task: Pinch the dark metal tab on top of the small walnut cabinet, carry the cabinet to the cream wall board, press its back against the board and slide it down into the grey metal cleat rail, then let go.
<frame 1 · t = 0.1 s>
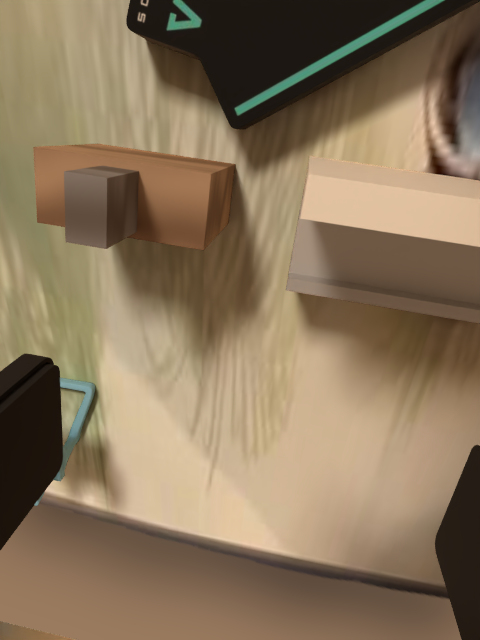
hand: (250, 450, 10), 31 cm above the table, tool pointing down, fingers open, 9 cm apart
walnut cabinet: (164, 184, 39), on the table
chair: (64, 408, 51), on the table
wall board: (430, 186, 36), on the table
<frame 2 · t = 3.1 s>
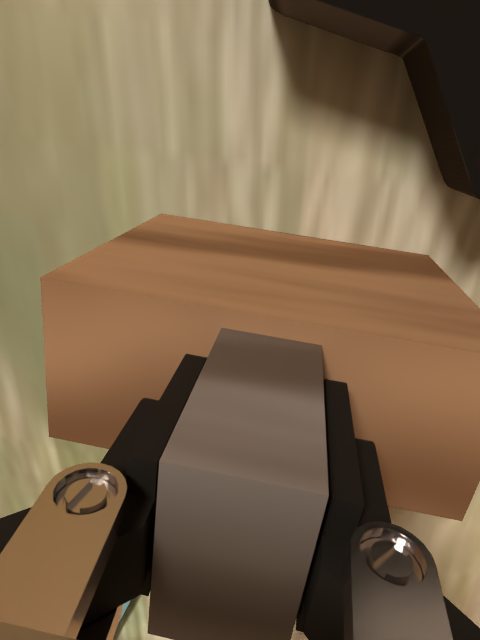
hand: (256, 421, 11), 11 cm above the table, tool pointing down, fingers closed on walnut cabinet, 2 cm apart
walnut cabinet: (282, 286, 21), on the table, touching gripper
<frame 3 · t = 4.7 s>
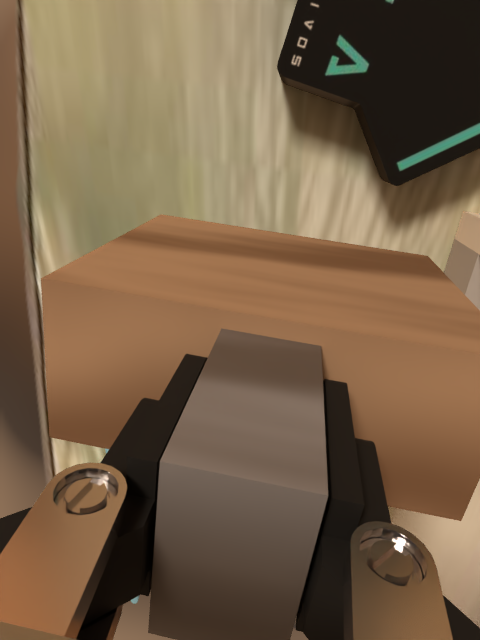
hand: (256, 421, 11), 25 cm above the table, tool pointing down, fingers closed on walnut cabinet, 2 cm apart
walnut cabinet: (281, 287, 21), point 14 cm above the table, touching gripper
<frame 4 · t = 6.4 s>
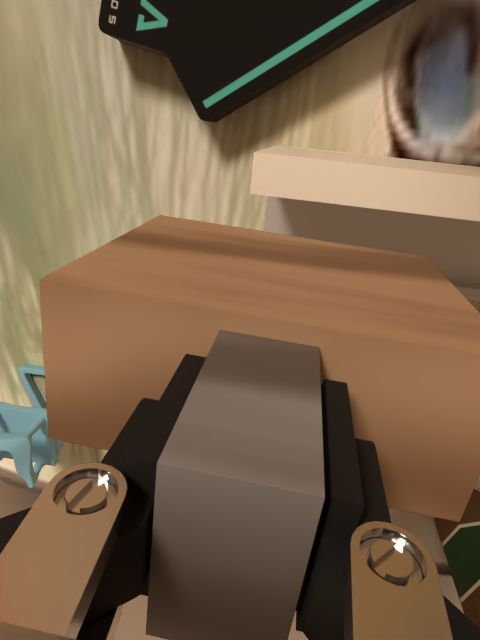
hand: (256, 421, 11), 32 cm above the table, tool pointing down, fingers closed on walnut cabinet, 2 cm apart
beer bottle: (467, 513, 50), on the table
walnut cabinet: (281, 287, 21), point 21 cm above the table, touching gripper
chair: (58, 398, 53), on the table
wall board: (394, 170, 38), on the table
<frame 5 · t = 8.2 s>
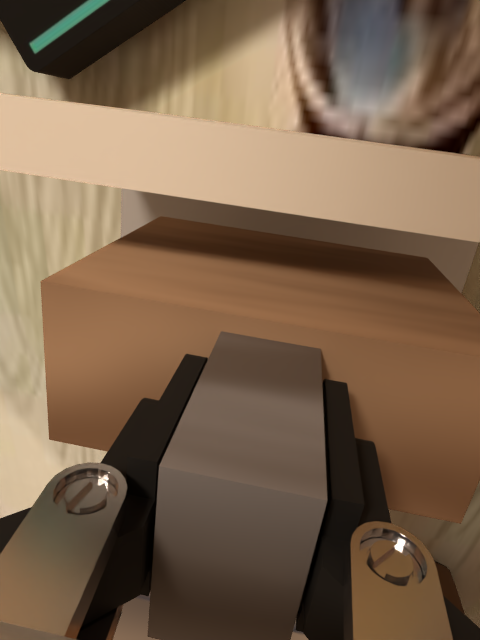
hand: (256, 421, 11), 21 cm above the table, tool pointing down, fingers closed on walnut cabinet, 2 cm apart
beer bottle: (410, 580, 41), on the table
walnut cabinet: (281, 288, 21), point 10 cm above the table, touching gripper
wall board: (305, 150, 28), on the table
when the fingers open (17 cm above the table, at t = 9.8 s): walnut cabinet drops 1 cm, resting on wall board.
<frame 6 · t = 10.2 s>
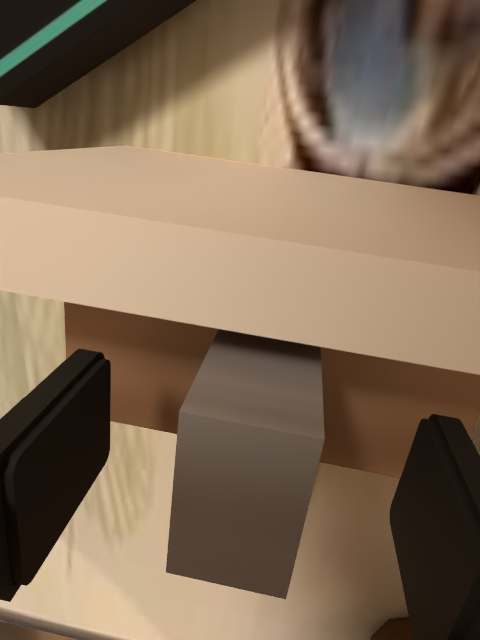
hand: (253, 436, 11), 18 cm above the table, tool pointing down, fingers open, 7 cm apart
walnut cabinet: (283, 278, 22), point 5 cm above the table, touching wall board
wall board: (299, 188, 25), on the table
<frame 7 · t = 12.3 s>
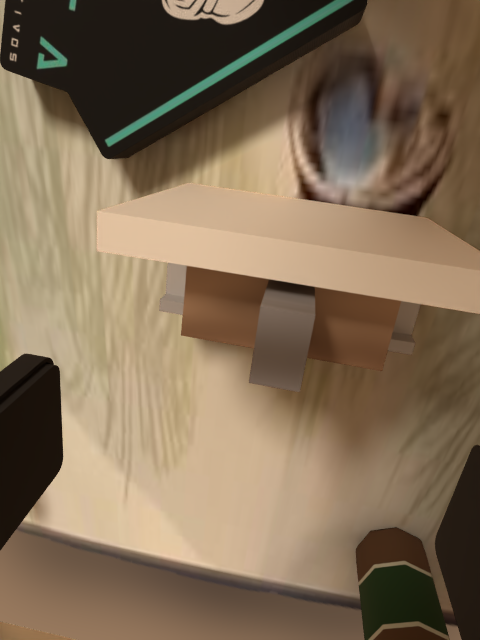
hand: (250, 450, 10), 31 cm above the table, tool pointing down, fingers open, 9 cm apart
beer bottle: (390, 550, 50), on the table
walnut cabinet: (293, 269, 35), point 5 cm above the table, touching wall board
wall board: (303, 211, 38), on the table
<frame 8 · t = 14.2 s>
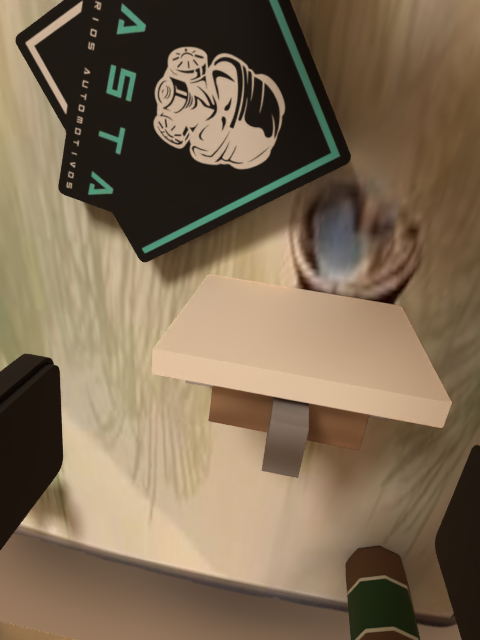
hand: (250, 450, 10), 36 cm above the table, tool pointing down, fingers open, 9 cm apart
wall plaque: (194, 102, 42), on the table
beer bottle: (374, 564, 59), on the table
walnut cabinet: (292, 351, 44), point 5 cm above the table, touching wall board
wall board: (301, 298, 47), on the table
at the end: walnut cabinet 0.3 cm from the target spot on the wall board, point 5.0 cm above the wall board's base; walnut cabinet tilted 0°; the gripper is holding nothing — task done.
